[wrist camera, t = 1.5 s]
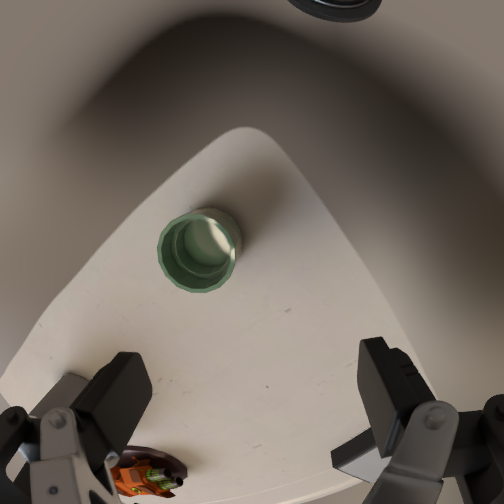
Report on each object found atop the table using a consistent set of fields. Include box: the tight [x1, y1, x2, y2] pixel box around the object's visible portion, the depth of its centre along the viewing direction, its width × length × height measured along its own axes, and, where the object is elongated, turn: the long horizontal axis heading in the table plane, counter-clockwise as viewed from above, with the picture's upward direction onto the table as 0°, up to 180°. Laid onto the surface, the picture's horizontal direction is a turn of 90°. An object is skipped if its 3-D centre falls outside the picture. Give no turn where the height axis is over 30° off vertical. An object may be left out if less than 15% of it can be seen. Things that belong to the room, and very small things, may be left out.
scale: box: [331, 428, 392, 483], centre depth 30 cm, size 10×10×3 cm
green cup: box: [157, 208, 242, 293], centre depth 23 cm, size 6×6×5 cm
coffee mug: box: [29, 374, 120, 468], centre depth 28 cm, size 13×10×10 cm
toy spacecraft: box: [106, 446, 187, 498], centre depth 34 cm, size 12×20×6 cm, turn 125°
